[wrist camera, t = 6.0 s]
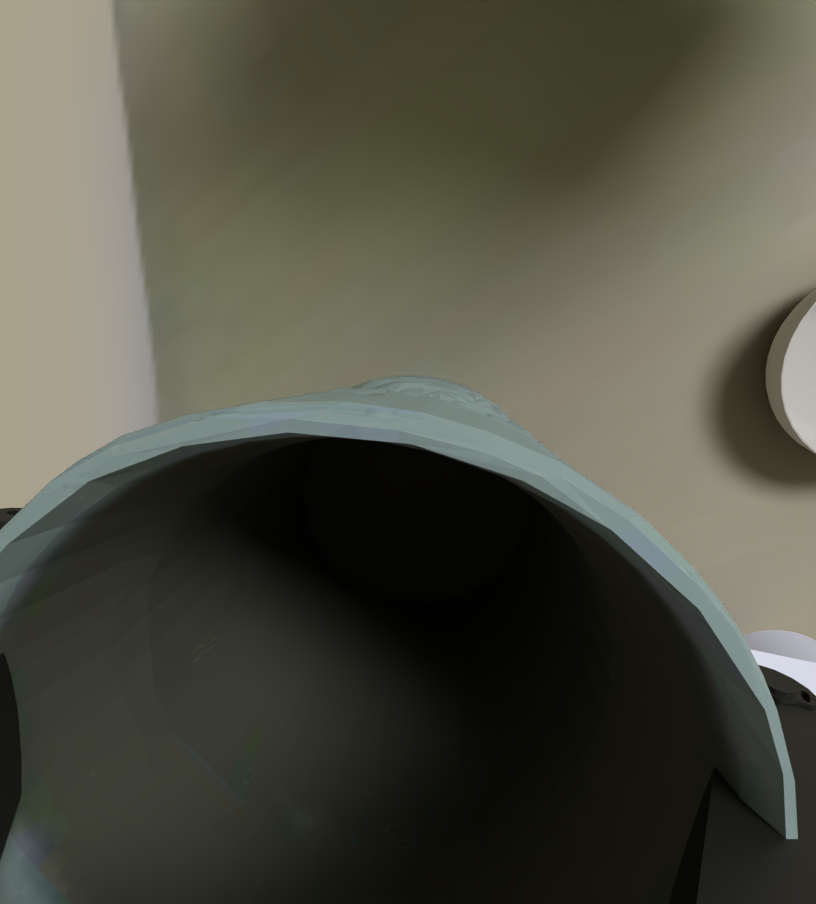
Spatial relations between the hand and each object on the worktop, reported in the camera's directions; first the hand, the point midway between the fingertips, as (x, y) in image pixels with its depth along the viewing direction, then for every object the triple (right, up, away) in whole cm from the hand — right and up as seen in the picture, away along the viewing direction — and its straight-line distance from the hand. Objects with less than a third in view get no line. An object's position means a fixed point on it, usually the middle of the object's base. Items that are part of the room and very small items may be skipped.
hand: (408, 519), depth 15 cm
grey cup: (0, +1, +2) cm, 2 cm away
